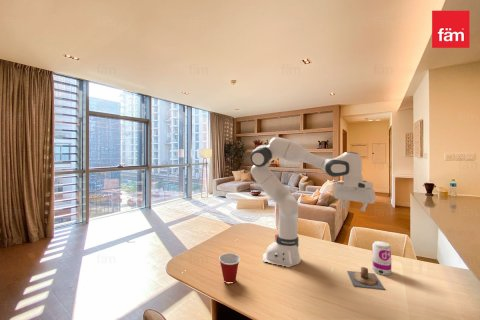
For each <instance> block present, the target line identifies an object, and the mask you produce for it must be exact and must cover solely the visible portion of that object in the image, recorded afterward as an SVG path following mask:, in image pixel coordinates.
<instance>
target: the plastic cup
mask: <svg viewBox="0 0 480 320" xmlns="http://www.w3.org/2000/svg"><path fill="white" fill-rule="evenodd" d="M218 259H219V264H220V267H221V273H222V277H223V282H224V281H226V282H234V281H235V282H236V281H237V273H238V268H239V267H238V266H239V265H240V264H239V263H240V261H241V257H240V256H239V254H236V253H232V252H231V253H230V252H226V253H222V254H221V255H219V257H218ZM235 282H234V283H235Z"/></svg>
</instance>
